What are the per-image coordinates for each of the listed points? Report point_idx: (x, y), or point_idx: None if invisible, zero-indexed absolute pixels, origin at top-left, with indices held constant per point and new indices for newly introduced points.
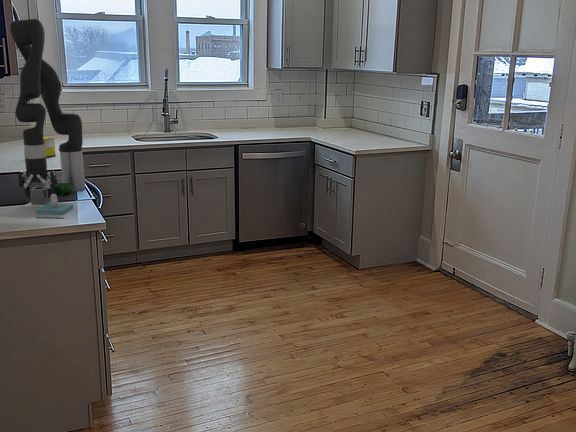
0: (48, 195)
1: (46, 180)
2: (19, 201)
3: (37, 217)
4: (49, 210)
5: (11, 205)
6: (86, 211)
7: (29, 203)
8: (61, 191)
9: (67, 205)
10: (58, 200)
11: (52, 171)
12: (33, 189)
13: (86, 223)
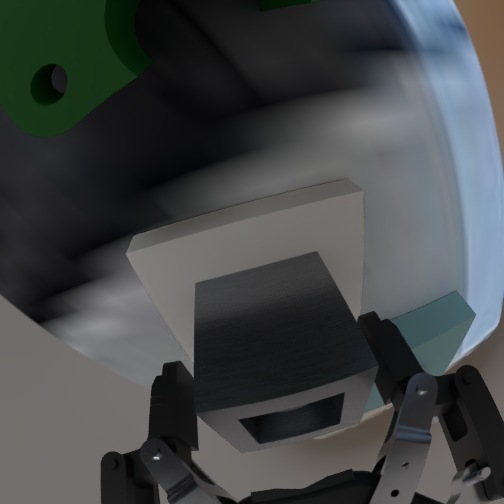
0: None
1: (397, 462)
2: (2, 230)
3: None
4: None
5: (58, 316)
6: (488, 267)
7: (191, 339)
8: (305, 1)
9: (457, 338)
10: (362, 201)
11: (493, 498)
12: (271, 446)
13: (474, 344)
